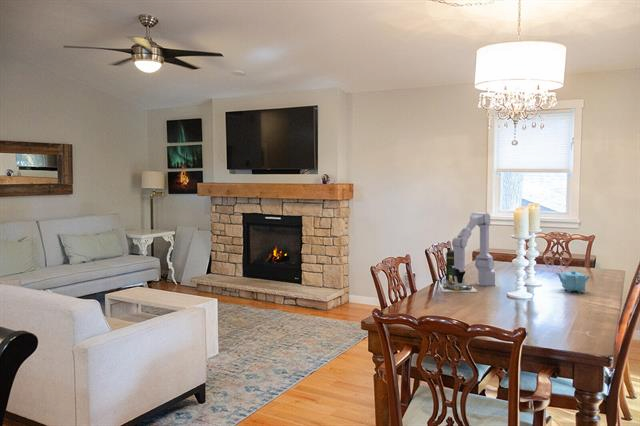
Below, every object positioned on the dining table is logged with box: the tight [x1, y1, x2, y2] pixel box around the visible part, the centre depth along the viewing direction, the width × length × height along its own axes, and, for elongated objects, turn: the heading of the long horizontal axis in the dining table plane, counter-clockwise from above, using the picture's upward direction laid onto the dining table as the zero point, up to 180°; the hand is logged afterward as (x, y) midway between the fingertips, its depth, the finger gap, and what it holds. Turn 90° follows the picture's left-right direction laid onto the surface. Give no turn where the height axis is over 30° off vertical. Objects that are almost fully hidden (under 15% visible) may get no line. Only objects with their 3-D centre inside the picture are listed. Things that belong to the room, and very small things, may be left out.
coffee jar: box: [445, 249, 456, 281], centre depth 327 cm, size 10×8×19 cm
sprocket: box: [442, 276, 473, 291], centre depth 299 cm, size 16×17×6 cm
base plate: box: [438, 284, 479, 293], centre depth 299 cm, size 19×19×1 cm
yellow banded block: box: [454, 277, 465, 286], centre depth 292 cm, size 5×3×5 cm, turn 84°
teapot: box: [555, 270, 591, 294], centre depth 289 cm, size 16×18×11 cm
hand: (459, 282), depth 292 cm, fingers closed on yellow banded block, 3 cm apart
